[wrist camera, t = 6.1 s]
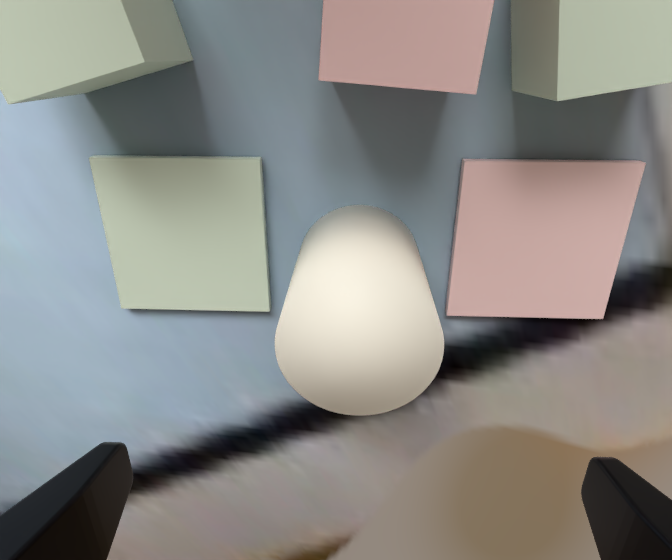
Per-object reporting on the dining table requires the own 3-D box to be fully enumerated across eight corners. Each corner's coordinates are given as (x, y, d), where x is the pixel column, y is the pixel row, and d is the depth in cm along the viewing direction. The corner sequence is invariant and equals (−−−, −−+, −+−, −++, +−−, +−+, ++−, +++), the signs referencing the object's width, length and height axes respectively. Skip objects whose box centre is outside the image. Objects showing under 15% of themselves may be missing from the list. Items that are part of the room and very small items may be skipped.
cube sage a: (639, 69, 15) (726, 73, 12) (510, 90, 16) (557, 101, 12) (653, -83, 14) (760, -133, 10) (509, -54, 14) (561, -92, 10)
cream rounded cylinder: (414, 315, 19) (436, 418, 14) (300, 313, 20) (279, 413, 14) (423, 205, 17) (452, 274, 12) (297, 203, 18) (269, 270, 12)
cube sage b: (194, 60, 16) (145, 62, 12) (85, 93, 16) (8, 104, 13) (143, -85, 14) (68, -133, 10) (25, -42, 15) (-84, -73, 11)
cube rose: (449, 85, 16) (476, 94, 12) (328, 74, 16) (318, 80, 12) (474, -62, 14) (513, -103, 10) (338, -74, 14) (330, -119, 10)
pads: (598, 313, 19) (603, 319, 19) (125, 303, 20) (121, 308, 19) (639, 160, 16) (645, 162, 16) (94, 155, 17) (88, 157, 17)
